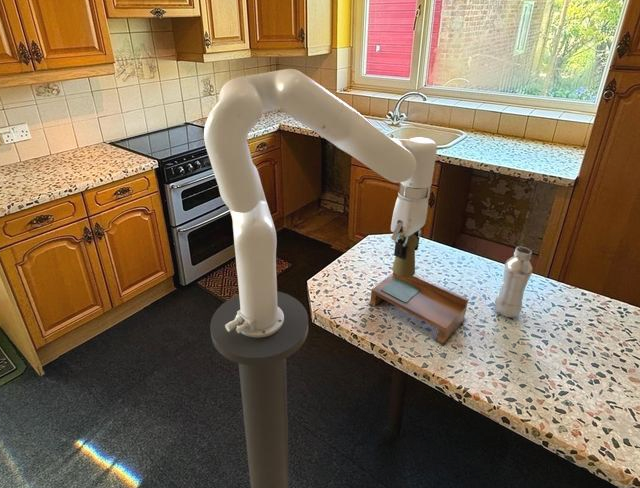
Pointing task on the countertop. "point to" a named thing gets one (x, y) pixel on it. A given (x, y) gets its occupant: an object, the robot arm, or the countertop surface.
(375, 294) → the wooden shelf
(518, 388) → the countertop surface
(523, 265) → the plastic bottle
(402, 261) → the cork
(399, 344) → the countertop surface
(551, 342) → the countertop surface
